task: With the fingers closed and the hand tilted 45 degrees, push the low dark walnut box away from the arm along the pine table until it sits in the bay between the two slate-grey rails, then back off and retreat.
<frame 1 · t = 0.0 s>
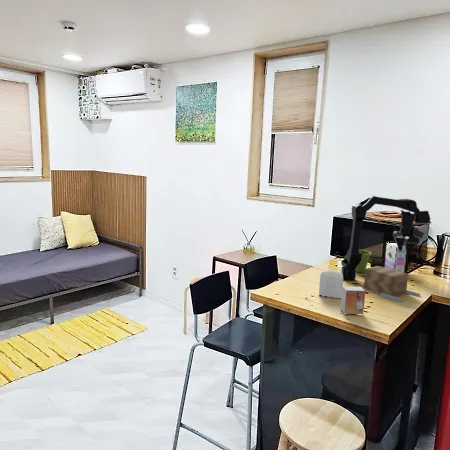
hand: (404, 253, 202), 15 cm above the worktop, tool pointing down, fingers open, 9 cm apart
walnut box: (384, 291, 187), on the worktop
small box: (351, 313, 159), on the worktop
plant pot: (358, 271, 221), on the worktop
bay rails: (398, 295, 181), on the worktop
candy box: (393, 273, 219), on the worktop
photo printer: (330, 297, 178), on the worktop
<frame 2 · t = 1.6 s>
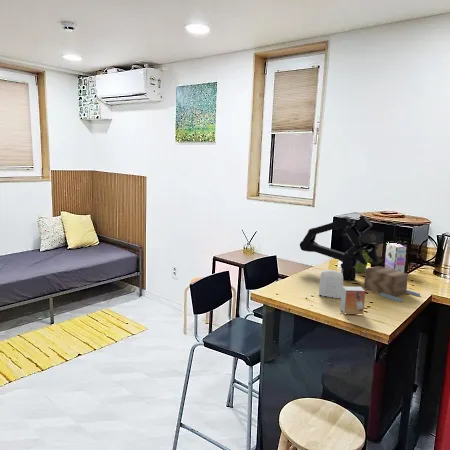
hand: (371, 263, 192), 11 cm above the worktop, tool tilted 45°, fingers open, 9 cm apart
nothing on the worktop moved.
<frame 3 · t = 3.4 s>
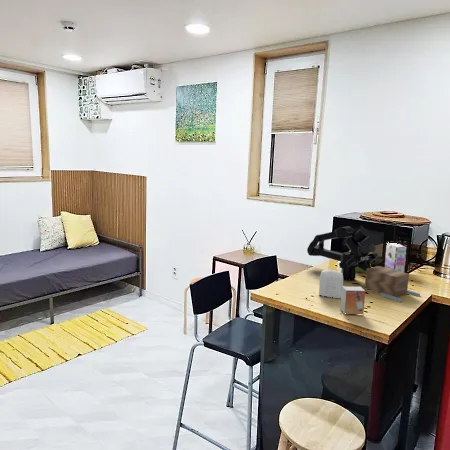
hand: (371, 274, 193), 6 cm above the worktop, tool tilted 45°, fingers closed, pressing on walnut box
walnut box: (385, 291, 187), on the worktop, touching gripper
everything else where it was.
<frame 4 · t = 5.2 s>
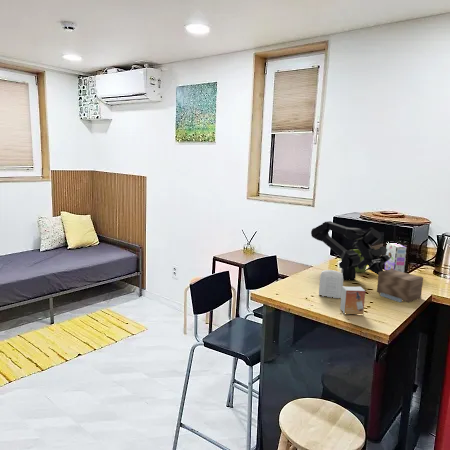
hand: (383, 276, 187), 7 cm above the worktop, tool tilted 45°, fingers closed, pressing on walnut box
walnut box: (398, 295, 182), on the worktop, touching gripper
everything else where it was.
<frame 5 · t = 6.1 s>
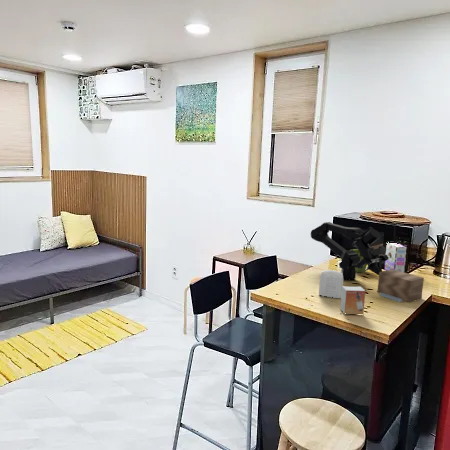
hand: (382, 276, 188), 7 cm above the worktop, tool tilted 45°, fingers closed
walnut box: (398, 295, 181), on the worktop
everything else where it was.
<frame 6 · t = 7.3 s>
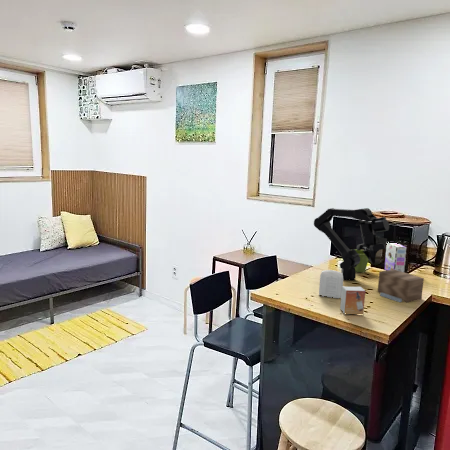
hand: (373, 263, 194), 11 cm above the worktop, tool tilted 15°, fingers closed
nothing on the worktop moved.
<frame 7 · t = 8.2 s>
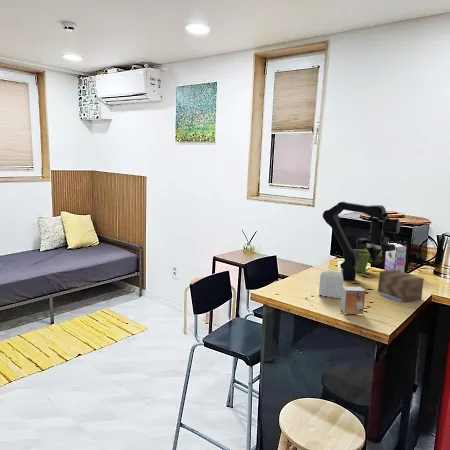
hand: (373, 261, 195), 12 cm above the worktop, tool pointing down, fingers closed
nothing on the worktop moved.
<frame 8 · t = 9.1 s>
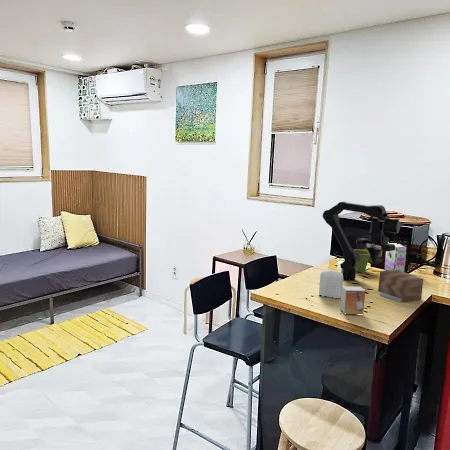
hand: (373, 261, 195), 12 cm above the worktop, tool pointing down, fingers closed
nothing on the worktop moved.
at the end: walnut box 0.4 cm from the bay rails (horizontally); walnut box tilted 0°; walnut box moved 7.3 cm from its start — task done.
